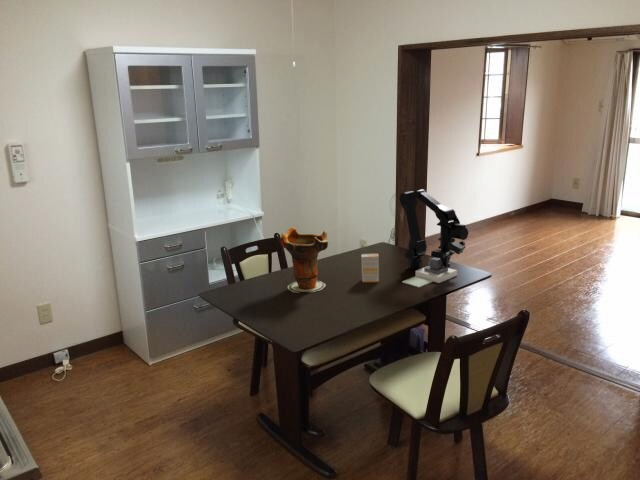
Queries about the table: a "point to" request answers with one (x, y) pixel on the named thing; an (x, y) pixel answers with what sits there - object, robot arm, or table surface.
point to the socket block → (436, 275)
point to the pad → (417, 281)
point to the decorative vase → (304, 258)
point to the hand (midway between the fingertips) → (445, 267)
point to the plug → (435, 266)
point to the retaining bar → (442, 264)
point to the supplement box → (370, 267)
